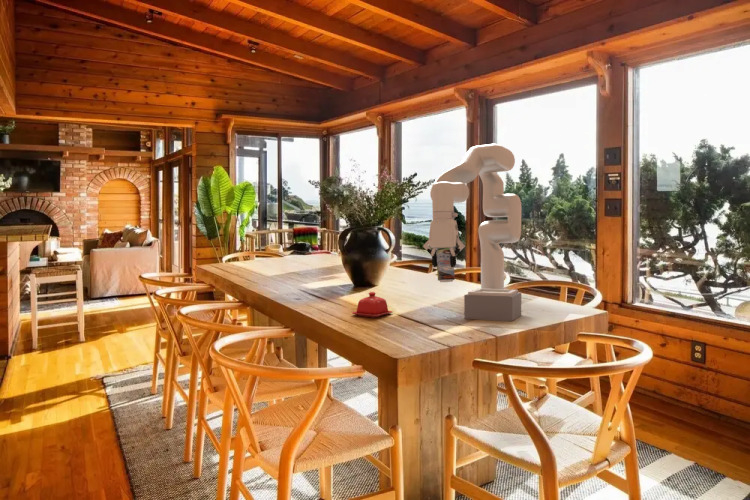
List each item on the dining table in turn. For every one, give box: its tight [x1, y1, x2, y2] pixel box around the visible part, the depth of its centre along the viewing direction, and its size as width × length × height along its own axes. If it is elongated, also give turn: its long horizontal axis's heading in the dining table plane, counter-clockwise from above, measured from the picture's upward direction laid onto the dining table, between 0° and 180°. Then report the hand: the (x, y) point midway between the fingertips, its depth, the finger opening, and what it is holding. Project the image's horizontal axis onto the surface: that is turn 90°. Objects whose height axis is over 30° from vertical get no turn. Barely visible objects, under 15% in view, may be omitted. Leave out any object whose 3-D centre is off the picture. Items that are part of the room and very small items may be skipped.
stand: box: [463, 288, 522, 322], centre depth 189 cm, size 16×16×9 cm
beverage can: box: [436, 248, 456, 283], centre depth 197 cm, size 6×7×12 cm
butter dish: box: [351, 291, 394, 318], centre depth 197 cm, size 12×12×8 cm
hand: (444, 266), depth 197 cm, fingers closed on beverage can, 5 cm apart
